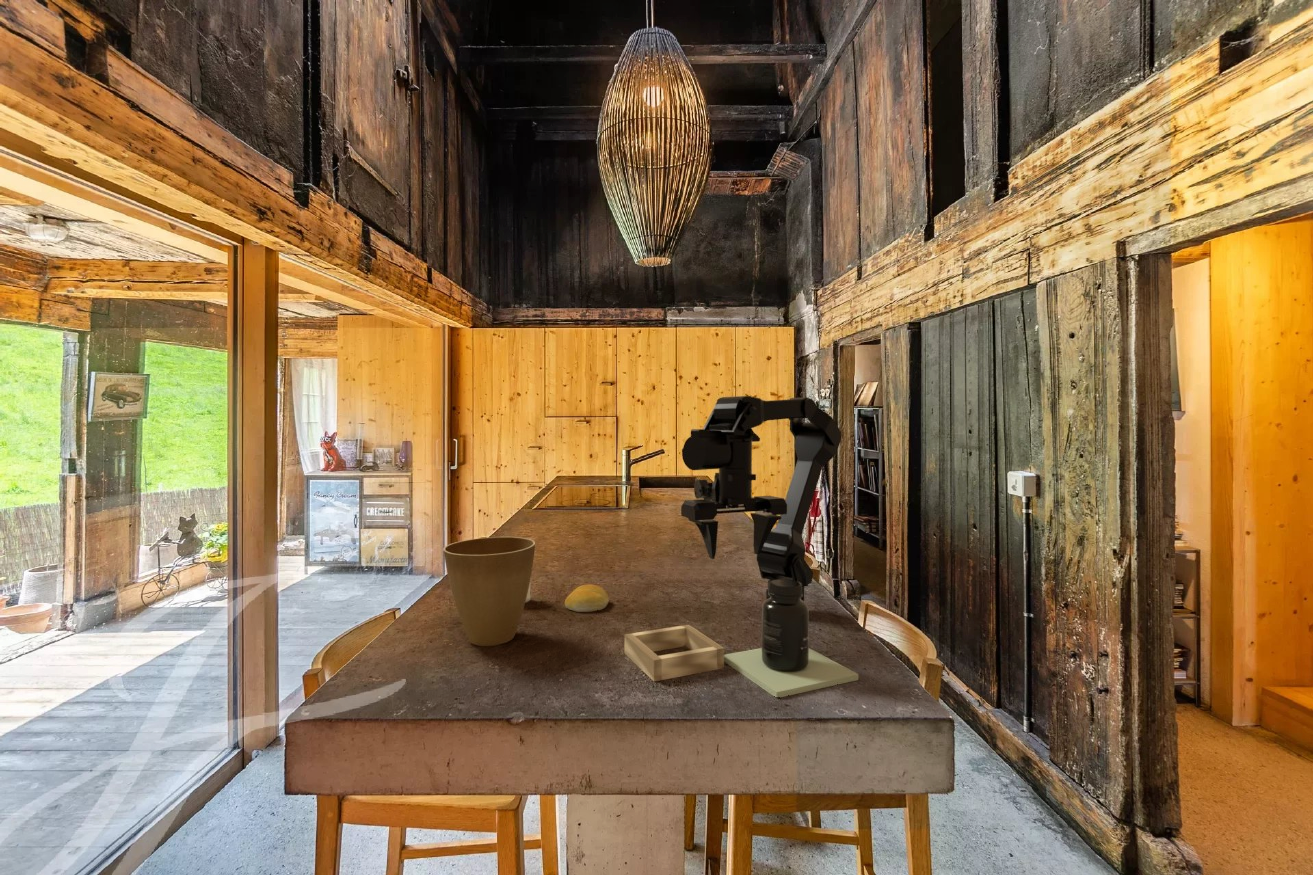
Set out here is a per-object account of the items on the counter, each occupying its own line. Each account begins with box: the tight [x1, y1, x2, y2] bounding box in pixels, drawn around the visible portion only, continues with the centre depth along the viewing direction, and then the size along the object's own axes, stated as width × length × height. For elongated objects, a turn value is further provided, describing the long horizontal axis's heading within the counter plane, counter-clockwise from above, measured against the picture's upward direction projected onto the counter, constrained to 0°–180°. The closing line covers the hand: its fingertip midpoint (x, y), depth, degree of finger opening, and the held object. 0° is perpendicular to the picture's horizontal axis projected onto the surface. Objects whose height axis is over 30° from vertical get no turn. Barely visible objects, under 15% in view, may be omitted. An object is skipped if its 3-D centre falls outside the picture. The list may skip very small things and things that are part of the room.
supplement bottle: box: [761, 579, 810, 672], centre depth 88 cm, size 7×7×12 cm
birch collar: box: [624, 624, 725, 682], centre depth 91 cm, size 11×11×3 cm
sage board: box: [724, 647, 859, 698], centre depth 88 cm, size 14×14×1 cm
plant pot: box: [442, 536, 536, 647], centre depth 100 cm, size 15×15×16 cm
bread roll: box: [564, 584, 610, 613], centre depth 119 cm, size 8×9×4 cm
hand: (734, 556), depth 105 cm, fingers open, 9 cm apart
